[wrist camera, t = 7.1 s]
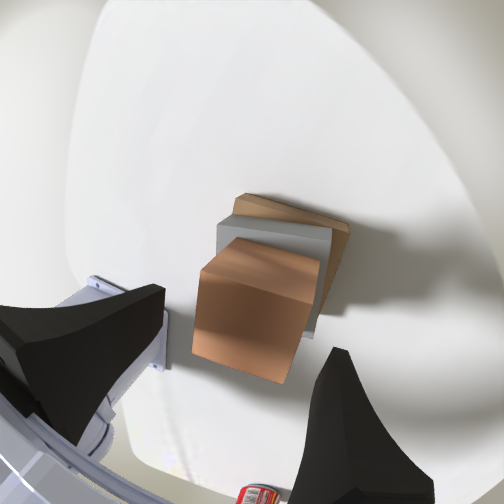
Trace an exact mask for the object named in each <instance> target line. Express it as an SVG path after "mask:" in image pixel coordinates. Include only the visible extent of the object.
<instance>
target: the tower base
mask: <svg viewBox="0 0 504 504" xmlns="http://www.w3.org/2000/svg"><path fill="white" fill-rule="evenodd" d="M232 214H235V215H243V216H251V217H258V218H266V219H273V220H281V221H288V222H295V223H302V224H308V225H315V226H322V227H328V228H332V241H331V247H330V254H329V260H328V265H327V271H326V277H325V282H324V288H323V293H322V298H321V303H320V308H319V313H320V311H321V309H322V306H323V304H324V301H325V299H326V296H327V294H328V291H329V288H330V286H331V283H332V281H333V278H334V275H335V273H336V270H337V267H338V265H339V262H340V259H341V257H342V254H343V251H344V248H345V245H346V242H347V240H348V237H349V234H350V231H349V226H348V224H346V223H343V222H340V221H337V220H334V219H331V218H327V217H324V216H321V215H318V214H315V213H312V212H308V211H305V210H302V209H299V208H295V207H292V206H289V205H285V204H282V203H279V202H275V201H272V200H268V199H265V198H261V197H258V196H254V195H251V194H247V193H245V194H243V195H241V196H239V197H237V198H235V203H234V208H233V213H232ZM319 313H318V316H319Z"/></svg>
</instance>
